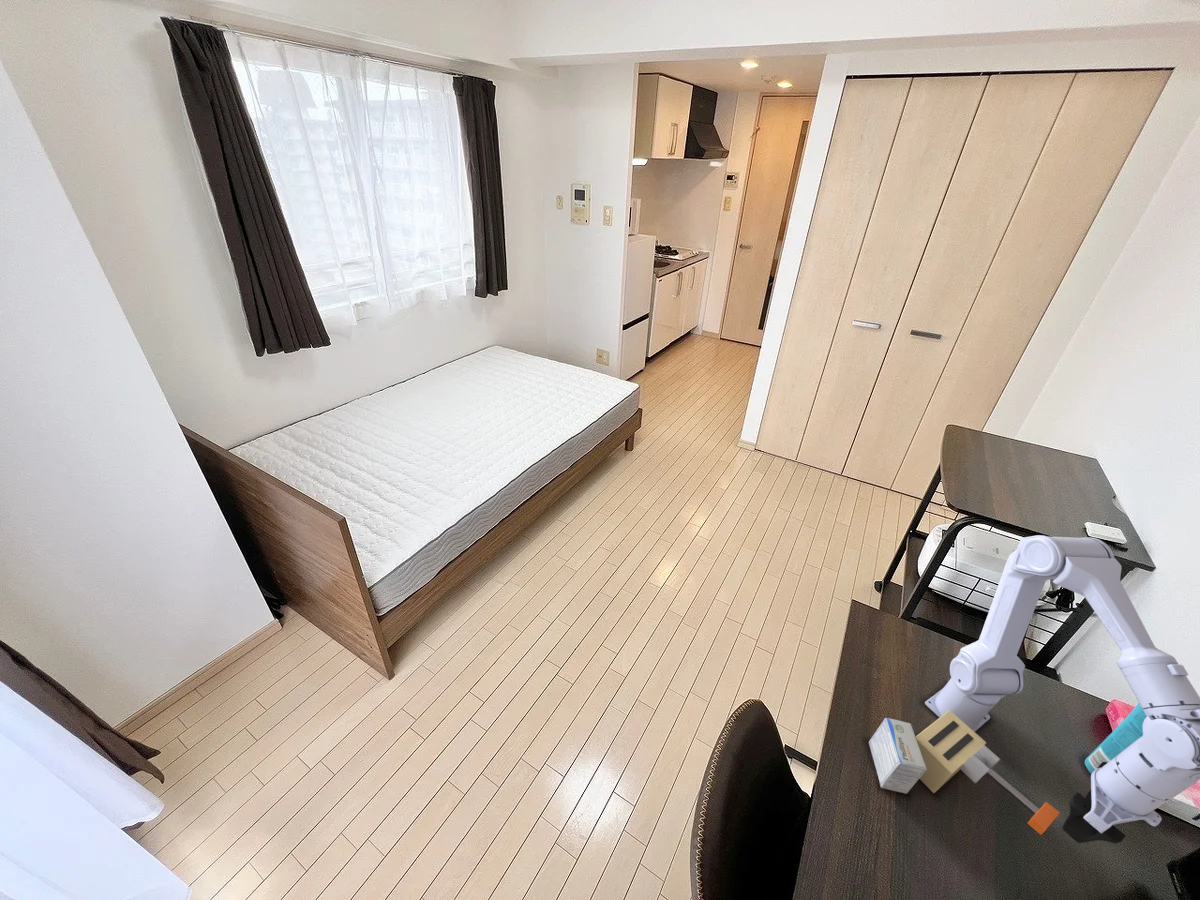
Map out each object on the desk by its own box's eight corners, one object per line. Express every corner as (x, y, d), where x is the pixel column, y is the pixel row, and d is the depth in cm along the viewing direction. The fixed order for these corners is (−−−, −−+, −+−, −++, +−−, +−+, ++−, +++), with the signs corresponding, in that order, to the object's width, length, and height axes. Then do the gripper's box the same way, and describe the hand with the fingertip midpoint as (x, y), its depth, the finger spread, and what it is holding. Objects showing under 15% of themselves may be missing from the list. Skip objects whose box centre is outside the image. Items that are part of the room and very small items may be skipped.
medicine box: (906, 795, 82) (928, 770, 78) (879, 788, 83) (899, 763, 78) (892, 747, 89) (912, 722, 84) (867, 741, 89) (885, 716, 85)
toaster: (932, 730, 92) (955, 702, 87) (982, 776, 86) (1010, 749, 81) (898, 757, 87) (920, 729, 82) (948, 809, 81) (976, 782, 76)
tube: (1132, 788, 86) (1212, 731, 76) (1116, 798, 84) (1196, 741, 74) (1085, 747, 92) (1154, 688, 82) (1069, 755, 90) (1137, 697, 80)
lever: (980, 757, 82) (985, 750, 81) (1054, 819, 74) (1060, 812, 73) (966, 770, 80) (970, 764, 79) (1041, 835, 72) (1046, 829, 71)
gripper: (1164, 838, 58) (1094, 879, 65) (1202, 778, 65) (1135, 822, 72) (1093, 780, 63) (1036, 824, 71) (1134, 730, 70) (1078, 775, 77)
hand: (1082, 820), depth 72 cm, fingers open, 7 cm apart
